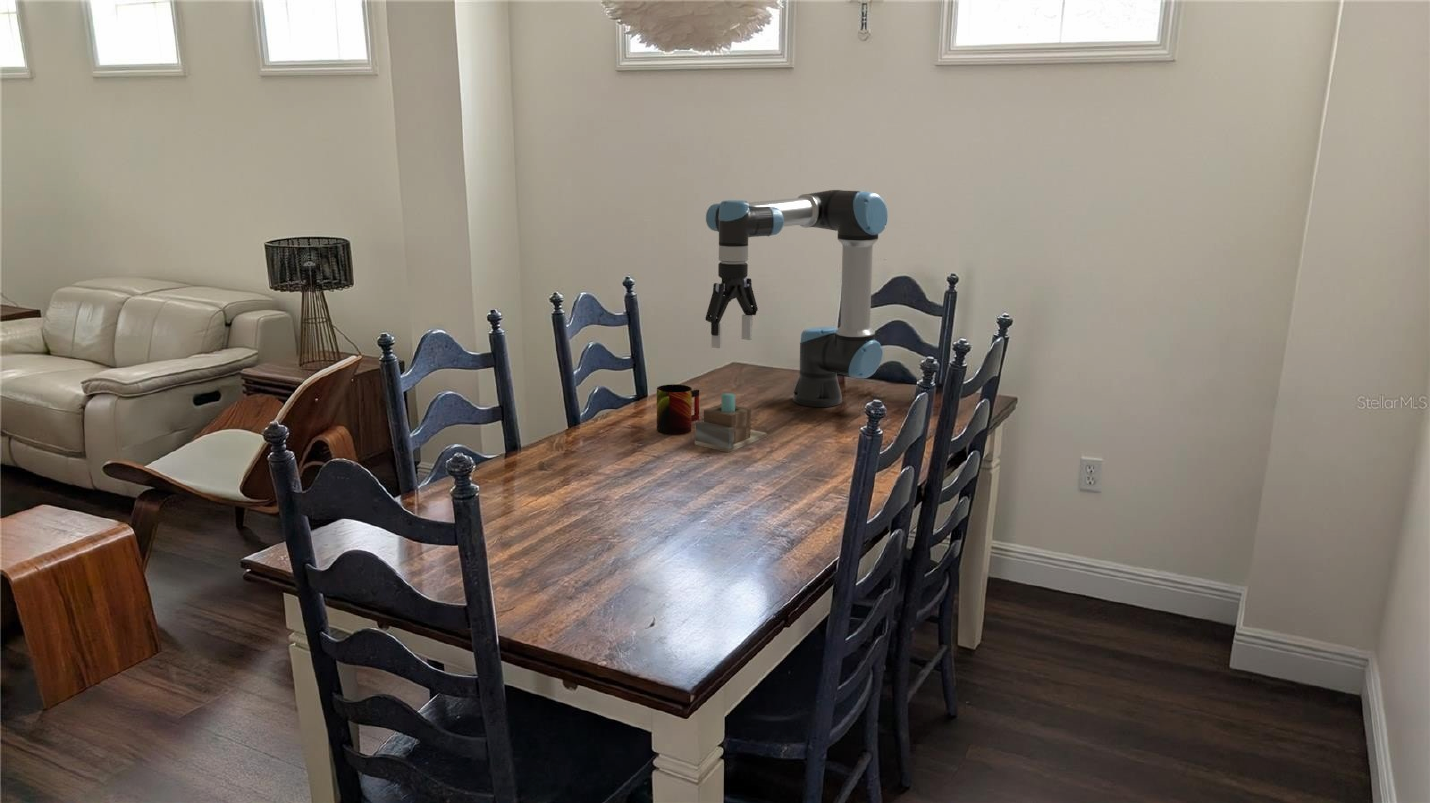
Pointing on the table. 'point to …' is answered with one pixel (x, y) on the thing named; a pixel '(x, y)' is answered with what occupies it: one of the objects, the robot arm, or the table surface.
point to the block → (731, 420)
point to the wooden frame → (721, 436)
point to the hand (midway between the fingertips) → (731, 343)
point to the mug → (676, 409)
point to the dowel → (728, 402)
